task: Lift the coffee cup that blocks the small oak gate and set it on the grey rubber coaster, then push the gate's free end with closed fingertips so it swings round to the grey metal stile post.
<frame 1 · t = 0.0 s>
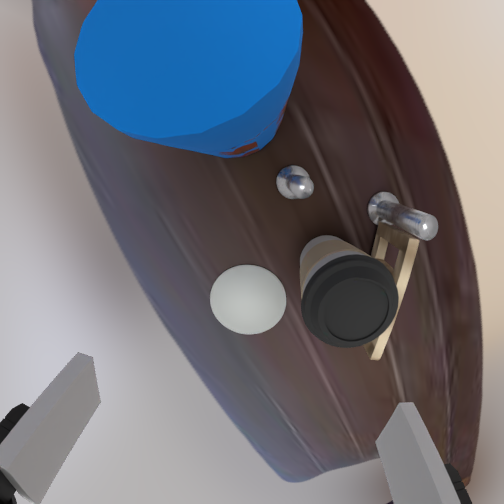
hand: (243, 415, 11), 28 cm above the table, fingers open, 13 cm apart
stile post: (293, 182, 36), on the table
thermos: (235, 115, 34), on the table
hinge post: (383, 208, 36), on the table
gate: (381, 288, 33), point 5 cm above the table, hinge at 0.0°
coaster: (248, 300, 40), on the table
coffee cup: (326, 260, 38), on the table
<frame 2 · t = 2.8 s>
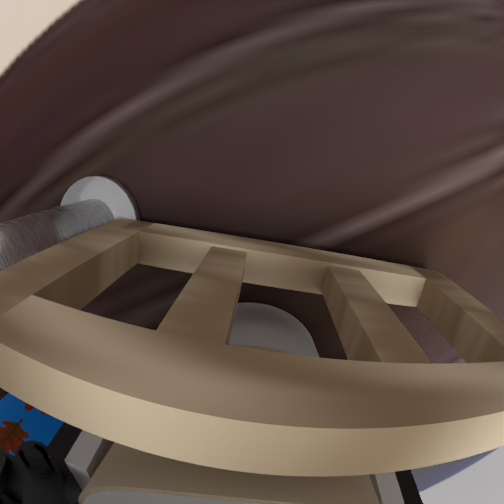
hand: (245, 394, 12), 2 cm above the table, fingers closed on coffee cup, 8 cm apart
thermos: (50, 433, 19), on the table
hinge post: (99, 222, 13), on the table
gate: (295, 310, 8), point 6 cm above the table, hinge at 0.0°
coffee cup: (249, 361, 15), on the table, touching gripper
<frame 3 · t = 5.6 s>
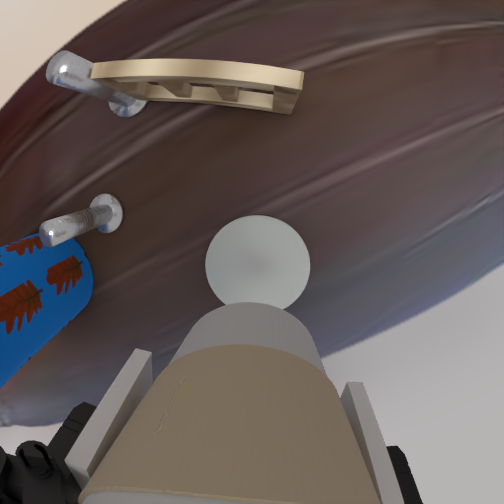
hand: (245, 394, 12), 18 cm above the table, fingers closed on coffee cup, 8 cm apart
stile post: (107, 212, 29), on the table
thermos: (60, 271, 31), on the table
hinge post: (130, 96, 25), on the table
gate: (201, 85, 20), point 5 cm above the table, hinge at 0.0°
coaster: (257, 266, 29), on the table
coffee cup: (249, 361, 15), point 15 cm above the table, touching gripper
when the fingers open (4 cm above the table, at t = 8.4 s): coffee cup drops 1 cm, resting on coaster.
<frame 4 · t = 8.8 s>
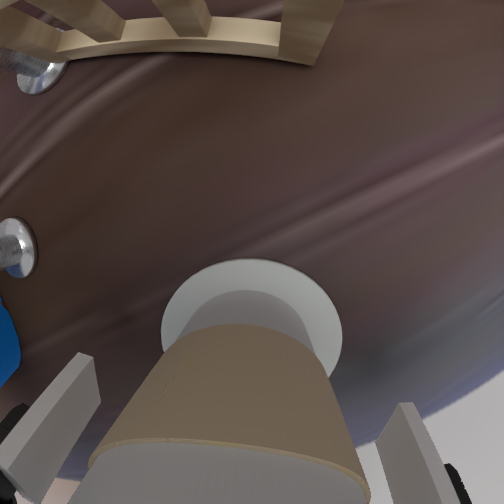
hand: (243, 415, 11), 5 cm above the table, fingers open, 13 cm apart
stile post: (18, 246, 16), on the table
hinge post: (45, 61, 12), on the table
gate: (126, 0, 7), point 6 cm above the table, hinge at 0.0°
coaster: (250, 344, 16), on the table
coffee cup: (246, 346, 16), resting on coaster
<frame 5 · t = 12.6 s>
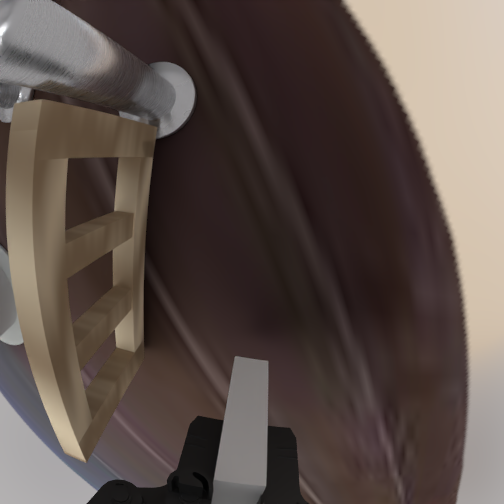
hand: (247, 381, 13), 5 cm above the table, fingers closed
stile post: (16, 96, 14), on the table
hinge post: (158, 100, 15), on the table
gate: (95, 285, 12), point 5 cm above the table, hinge at 0.0°
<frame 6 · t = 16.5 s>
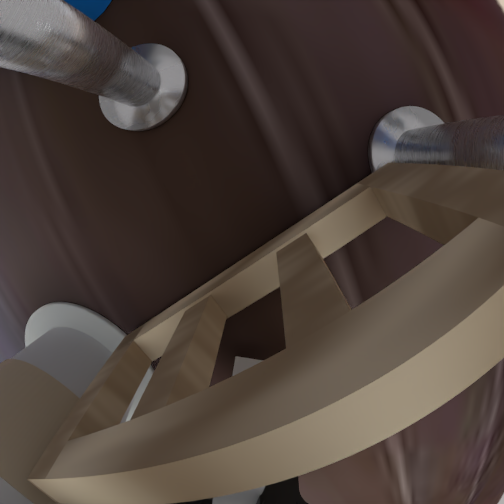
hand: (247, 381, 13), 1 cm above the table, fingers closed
stile post: (144, 87, 11), on the table
hinge post: (412, 156, 11), on the table
gate: (241, 329, 8), point 5 cm above the table, hinge at 45.8°, touching hand
coaster: (87, 374, 16), on the table
coffee cup: (85, 373, 15), resting on coaster
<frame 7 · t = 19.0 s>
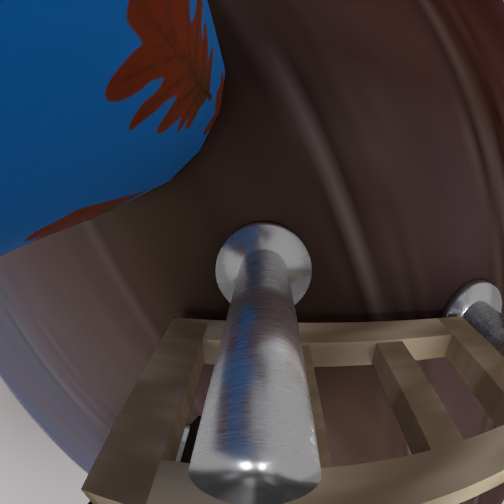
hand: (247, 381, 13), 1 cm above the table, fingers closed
stile post: (263, 267, 13), on the table
thermos: (114, 92, 11), on the table
hinge post: (469, 316, 13), on the table
gate: (355, 403, 8), point 5 cm above the table, hinge at 81.8°, touching hand
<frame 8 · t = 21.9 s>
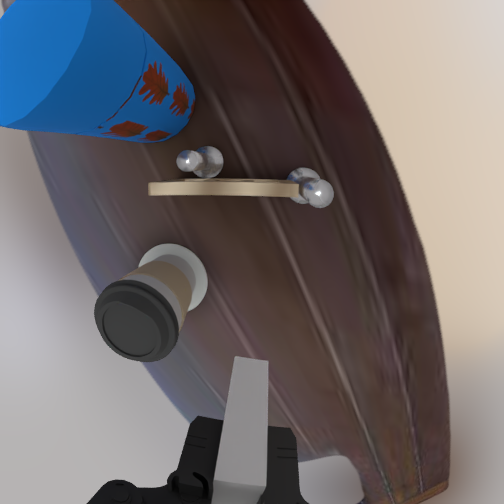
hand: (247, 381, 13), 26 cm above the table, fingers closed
stile post: (207, 162, 36), on the table
thermos: (156, 104, 34), on the table
hinge post: (303, 185, 36), on the table
gate: (227, 185, 31), point 6 cm above the table, hinge at 82.4°
coaster: (172, 279, 41), on the table
coffee cup: (171, 277, 40), resting on coaster
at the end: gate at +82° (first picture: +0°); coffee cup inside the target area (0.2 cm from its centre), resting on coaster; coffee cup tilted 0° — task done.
